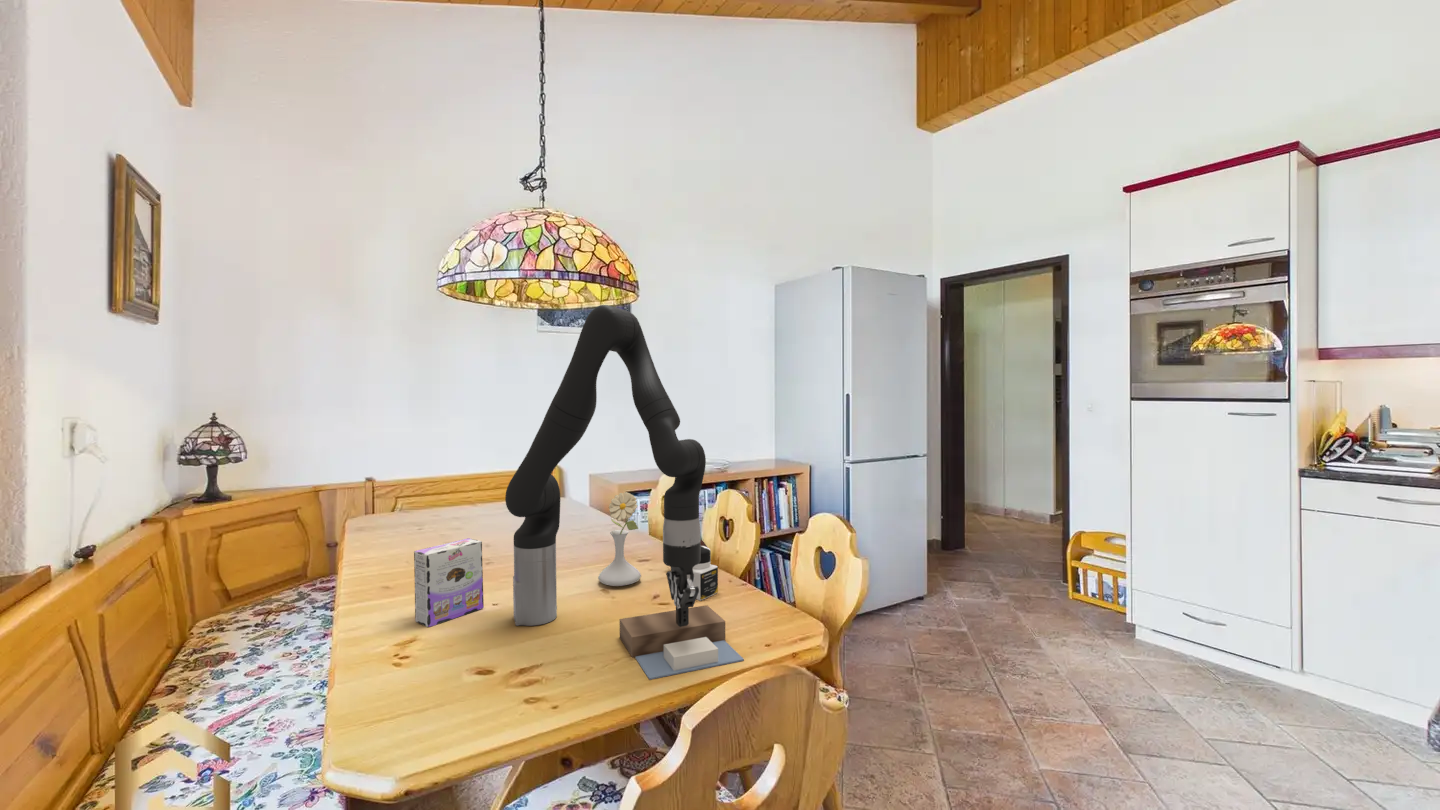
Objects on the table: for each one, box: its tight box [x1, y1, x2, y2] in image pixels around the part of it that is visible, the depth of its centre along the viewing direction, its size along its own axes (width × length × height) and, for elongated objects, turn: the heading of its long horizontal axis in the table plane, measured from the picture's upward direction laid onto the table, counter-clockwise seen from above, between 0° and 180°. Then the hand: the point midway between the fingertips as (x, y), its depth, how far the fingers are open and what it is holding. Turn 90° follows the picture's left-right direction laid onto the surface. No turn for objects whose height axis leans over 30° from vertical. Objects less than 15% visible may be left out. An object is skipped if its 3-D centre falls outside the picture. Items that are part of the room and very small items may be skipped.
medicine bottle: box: [693, 546, 719, 602], centre depth 154 cm, size 7×7×12 cm
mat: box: [634, 639, 745, 681], centre depth 118 cm, size 19×10×1 cm, turn 113°
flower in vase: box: [597, 491, 642, 587], centre depth 162 cm, size 13×11×25 cm
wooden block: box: [619, 604, 726, 658], centre depth 127 cm, size 20×10×4 cm, turn 113°
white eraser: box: [664, 637, 718, 671], centre depth 117 cm, size 9×6×2 cm, turn 114°
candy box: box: [413, 538, 485, 628], centre depth 140 cm, size 14×6×16 cm, turn 145°
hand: (682, 624), depth 122 cm, fingers closed
